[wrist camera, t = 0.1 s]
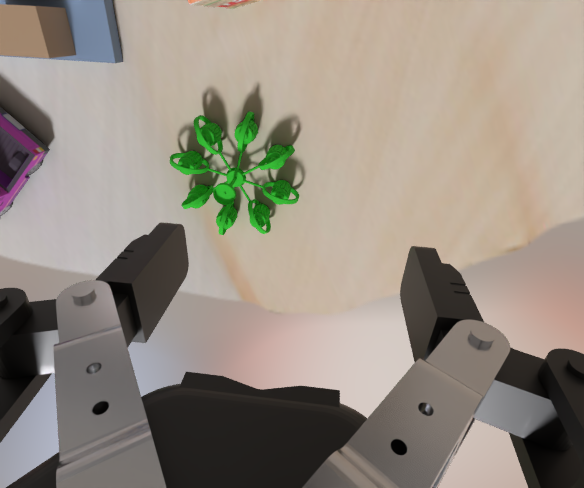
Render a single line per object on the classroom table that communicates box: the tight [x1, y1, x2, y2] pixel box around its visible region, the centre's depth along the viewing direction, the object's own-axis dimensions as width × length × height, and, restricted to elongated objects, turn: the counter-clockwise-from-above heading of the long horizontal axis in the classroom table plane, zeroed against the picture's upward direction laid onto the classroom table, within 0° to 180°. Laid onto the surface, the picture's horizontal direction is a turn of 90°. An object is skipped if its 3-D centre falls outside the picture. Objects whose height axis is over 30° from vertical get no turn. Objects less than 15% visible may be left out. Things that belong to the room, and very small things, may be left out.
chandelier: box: [170, 111, 299, 235], centre depth 40 cm, size 15×15×7 cm
